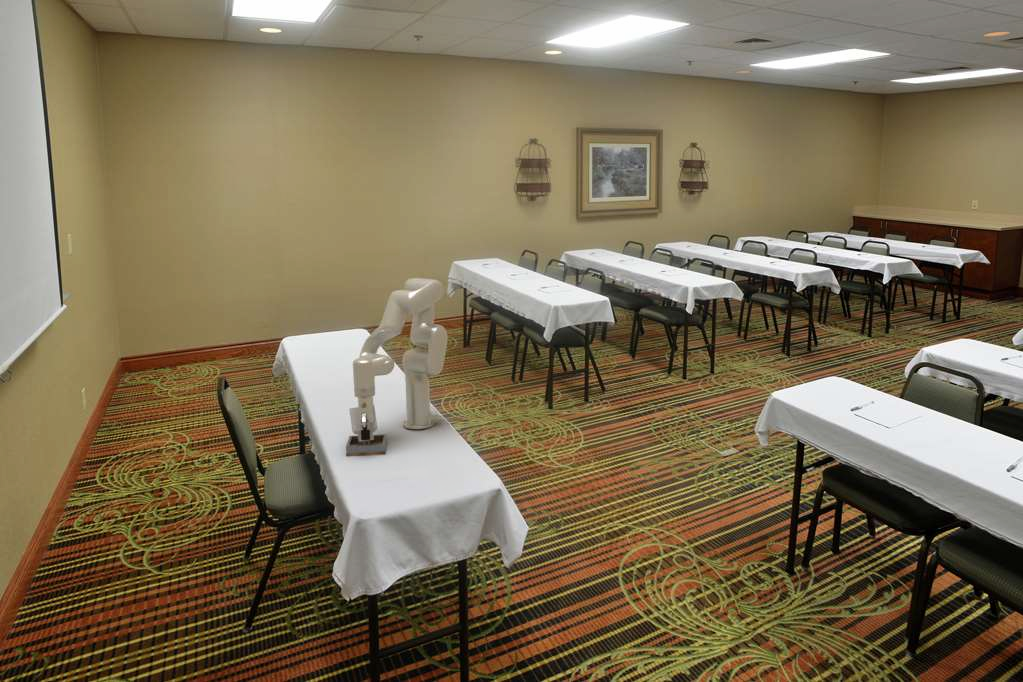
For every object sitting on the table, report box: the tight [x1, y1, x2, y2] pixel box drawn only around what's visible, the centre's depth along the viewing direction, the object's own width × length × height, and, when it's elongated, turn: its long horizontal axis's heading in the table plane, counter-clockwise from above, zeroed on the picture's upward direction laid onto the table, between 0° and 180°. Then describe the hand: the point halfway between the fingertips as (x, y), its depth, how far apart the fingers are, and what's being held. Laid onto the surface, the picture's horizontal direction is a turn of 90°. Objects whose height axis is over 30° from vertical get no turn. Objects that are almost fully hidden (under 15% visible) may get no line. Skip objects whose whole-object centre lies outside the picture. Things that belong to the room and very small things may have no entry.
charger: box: [349, 406, 378, 445], centre depth 249 cm, size 5×9×15 cm, turn 102°
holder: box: [345, 433, 388, 457], centre depth 248 cm, size 14×12×4 cm
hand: (367, 435), depth 247 cm, fingers open, 9 cm apart
